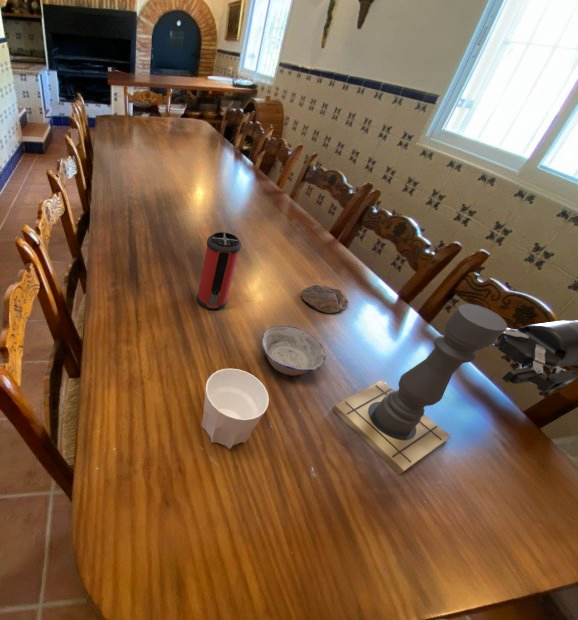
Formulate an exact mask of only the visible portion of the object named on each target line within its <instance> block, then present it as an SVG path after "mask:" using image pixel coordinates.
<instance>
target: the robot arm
mask: <svg viewBox="0 0 578 620" xmlns="http://www.w3.org/2000/svg"><path fill="white" fill-rule="evenodd" d="M487 348H490V349H494V350H498V351H500V352H501V353H503V354H504V355H506V356H507V357H508V358H509V359H510V360H511V361H513V362H514V363H518V365H519V368H515V369H511V370H509V371H508V372H507V373H505V375H504V376H503V377H501V380H502V381H504V382H505V383H506V384H507V383H512V384H514V385H518V384H524V383H527V384H532V383H533V384H535V385H536V388H537V390H539V391H541V392H542V393H547V392H550V391H554V390H557V389H561V388H564V387H567V386H569V385H570V384H572V382H574V381H575V380H576V379H578V371H576V370H574V369H568V370H567V369H565V368H563V367H570V366H577V365H578V319H574V320H555V321H550V322H549V321H548V322H543V323H542V322H541V323H535V324H529V325H525V326H521V327H518V328H516V329H514V328H509V327H507V328H506V329H505V331H504V332H503V333H502V334H501V335H500V336H499V337H498V338H497V341H494V342H493V343H492V344H491V345H489V346H488V347H487ZM544 372H551V374H550V375H546V374H544Z"/></svg>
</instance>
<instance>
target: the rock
mask: <svg viewBox="0 0 578 620" xmlns="http://www.w3.org/2000/svg"><path fill="white" fill-rule="evenodd" d="M300 295H301V298H302V300H303V301H304V302H305V303H307V304H308V305H309V306H310V307H312V308H313V309H315V310H317V311H319V312H321V313H324V314H334V313H338V312H342V311H344V310H345V309H346V308H347V306H348V305H349V299H347V298H346V295H345V294H344V293H343V291H342V290H340V289H338V288H333V287H329V286H326V285H325V286H324V285H317V284H316V285H315V284H314V285H311V286H307V287H306V288H304V289H303V290H302V292H301V294H300Z"/></svg>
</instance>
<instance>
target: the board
mask: <svg viewBox="0 0 578 620" xmlns="http://www.w3.org/2000/svg"><path fill="white" fill-rule="evenodd" d="M393 391H395V390H394V389H393V388H392V387H391V386H389V385H388V384H387V383H386V382H385V381H384V380H382V379H380V380H379V381H377V382H375V383H373V384H372V385H371V384H370V385H369V386H368V387H366V388H364V389H362V390H360V391H358V392H357V393H354V394H353V395H351V396H349V397H346V398H345V399H343V400H342V401H340V402H338V403H335V404H334V406H333V408H332V411H333V412H334V413H335V414H336V415H337V416H338V417H339V418H340V419H341V420H342V421H343V422H344V423H345V424H346V425H347V426H348V427H349V428H351V429H352V431H354V432H355V434H357V435H358V436H359V437H360V438H361V439H362V440H363V441H364V442H365V443H366V444H367V445H368V446H369V447H370V448H371V449H373V450H374V452H375V453H376V454H377V455H378V456H380V457H381V459H382V460H384V462H386V463H387V465H388V466H389V467H391V468H392V469H393V470H394V471H395V472H397V474H398V475H402V474H403V473H404V472H406V471H407V470H409V469H410V468H411V467H413V466H414V465H416V464H417V463H418V462H420V461H421V460H422V459H424V458H425V457H426V456H428V455H429V454H430V453H432V452H434V451H435V450H436V449H438V448H439V447H440V446H441V445H443V444H444V443H445V442H447V441H448V440H449V439H450V438H451V437H452V436H451V434H449V433H447V432H446V431H445V430H444V429H443V428H442V427H441V426H439V425H438V424H436V422H434V420H432V419H430V418H429V417H428V416H426V414H424V415H423V416H422V417H421V420H420V422H419V423H418V424H417V425H416V426H415V427H414V428H413V429H412V430H411V431H410V432H409V433H408V434H406V435H399V434H395V433H392V432H390V431H388V430H387V429H385V428H384V427H383V426H382V425H381V424H379V422H378V421H377V419H376V418H375V413H374V412H375V409H376V407H377V406H378V405H379V403H380V402H381V401H382V400H383V398H384V397H386V396H388V395H389V393H391V392H393Z"/></svg>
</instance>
